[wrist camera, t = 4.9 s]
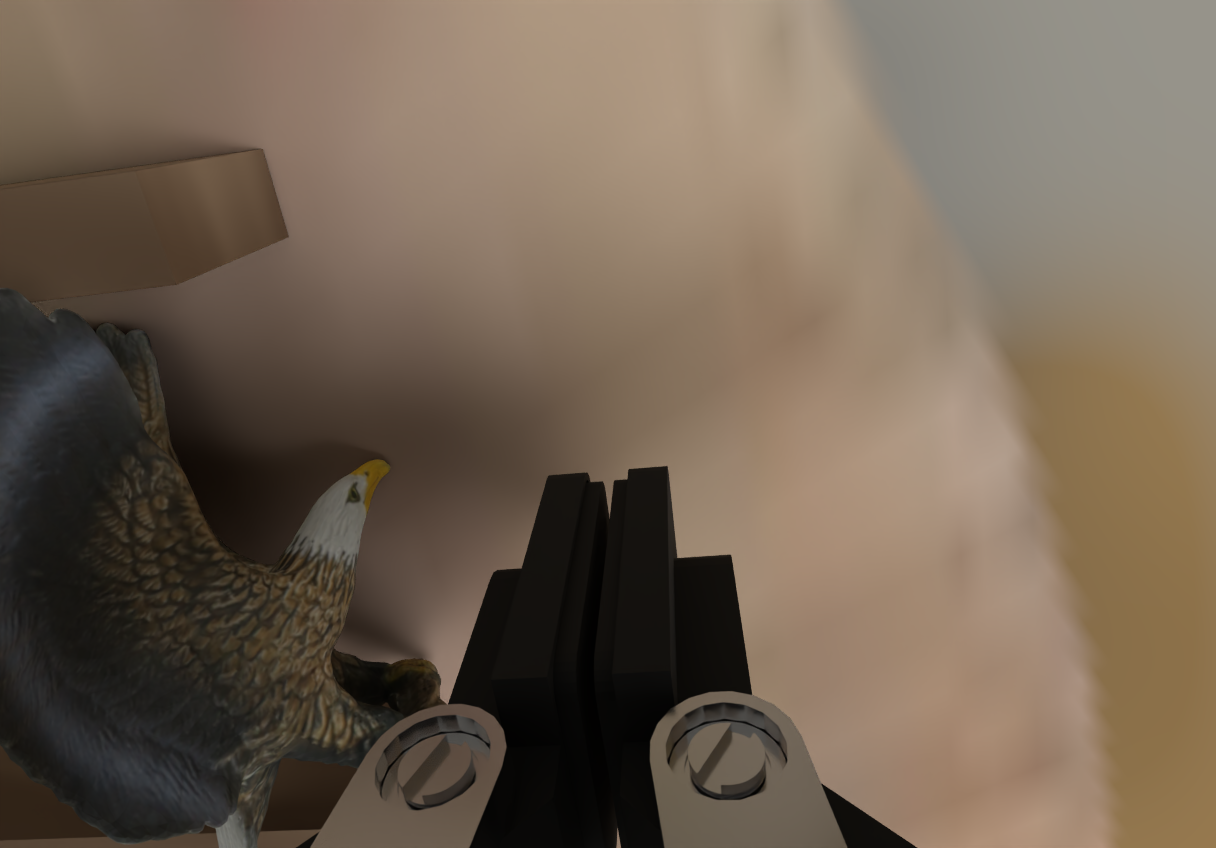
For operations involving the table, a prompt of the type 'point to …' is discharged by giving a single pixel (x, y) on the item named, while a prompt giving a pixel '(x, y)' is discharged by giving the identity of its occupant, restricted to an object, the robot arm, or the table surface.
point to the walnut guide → (129, 260)
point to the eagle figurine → (162, 606)
